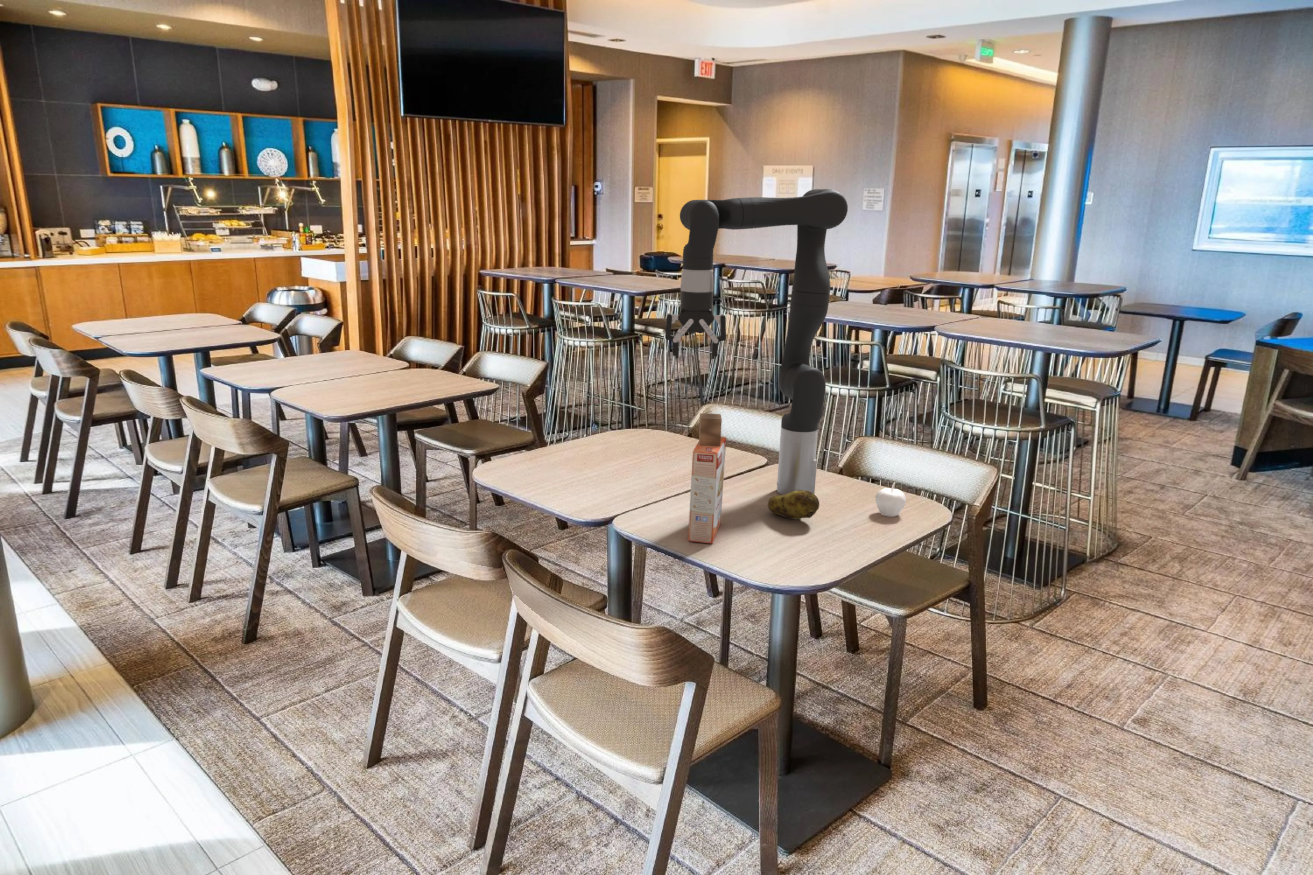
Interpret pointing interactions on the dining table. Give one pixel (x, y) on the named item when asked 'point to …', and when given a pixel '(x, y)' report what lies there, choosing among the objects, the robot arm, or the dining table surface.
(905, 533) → the dining table surface
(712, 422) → the walnut block
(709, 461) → the cracker box
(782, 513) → the potato
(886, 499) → the plain white apple
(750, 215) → the robot arm
